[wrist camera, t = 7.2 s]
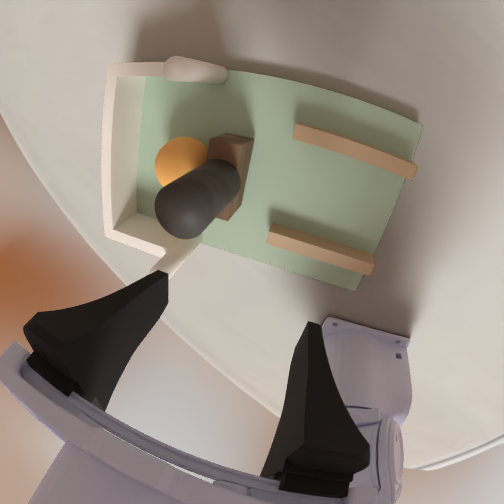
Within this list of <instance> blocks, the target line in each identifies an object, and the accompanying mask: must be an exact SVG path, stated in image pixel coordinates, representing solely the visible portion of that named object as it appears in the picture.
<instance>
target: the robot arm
mask: <svg viewBox="0 0 504 504" xmlns="http://www.w3.org/2000/svg"><path fill="white" fill-rule="evenodd" d="M167 304H168V273H166V272H163V271H160V270H157V271H155V272H153V273H151V274H149V275H147V276H145V277H144V278H142V279H140V280H138V281H136V282H134V283H132V284H130V285H129V286H127V287H125V288H123V289H121V290H119V291H116V292H114V293H112V294H110V295H108V296H105V297H103V298H100V299H98V300H95V301H92V302H89V303H86V304H82V305H79V306H75V307H71V308H66V309H61V310H54V311H45V312H38V313H36V314H35V315H34V316H33V317H32V319H30V320H29V321H28V323H26V324H25V325H24V327H23V331H24V334H25V336H26V338H27V340H28V342H29V343H30V345H31V347H32V349H33V350H34V352H33V353H32V354H30V353H29V352H28V351H27V350H26V349H25V348H24V347H23V346H22V345H21V344H20V343H19V342H18V341H16V340H15V341H14V342H13V343H12V344H11V345H10V346H9V347H8V349H7V350H6V351H5V352H4V353H3V354H2V355H1V356H0V382H1V383H2V384H3V386H4V387H5V388H6V389H7V390H8V391H9V392H10V393H11V395H12V396H13V397H15V399H16V400H18V402H19V403H20V404H22V405H23V406H24V407H25V408H26V409H27V410H28V411H29V412H30V413H31V414H32V415H33V416H34V417H35V418H37V419H38V420H39V421H40V422H41V423H42V424H43V425H45V426H46V427H47V428H48V429H49V430H51V431H52V432H53V433H54V434H55V435H57V436H58V437H59V438H60V439H62V440H63V441H64V442H66V443H65V444H64V446H63V447H62V449H61V450H60V452H59V453H58V455H57V457H56V458H55V460H54V462H53V463H52V465H51V466H50V468H49V469H48V471H47V473H46V474H45V476H44V478H43V479H42V481H41V483H40V484H39V486H38V488H37V489H36V491H35V493H34V495H33V496H32V498H31V500H30V501H29V503H28V504H395V503H396V501H397V500H398V498H399V496H400V492H401V487H402V473H403V462H404V453H403V439H402V433H401V429H400V426H401V425H402V424H403V422H404V421H405V419H406V417H407V415H408V413H409V410H410V406H411V401H412V385H411V377H410V369H409V362H408V355H407V349H406V348H407V347H408V346H409V345H410V339H409V338H406V337H402V336H398V335H394V334H390V333H387V332H383V331H379V330H376V329H372V328H368V327H365V326H361V325H358V324H354V323H351V322H347V321H344V320H340V319H337V318H333V317H328V318H326V319H325V321H324V323H323V325H322V327H321V325H319V324H316V323H313V322H309V321H308V323H307V325H306V327H305V329H304V331H303V333H302V335H301V337H300V339H299V341H298V343H297V345H296V347H295V350H294V354H293V358H292V361H291V365H290V371H289V377H288V384H287V390H286V396H285V401H284V406H283V411H282V414H281V418H280V421H279V424H278V428H277V431H276V434H275V437H274V440H273V443H272V446H271V448H270V451H269V454H268V457H267V459H266V462H265V464H264V467H263V469H262V472H261V475H260V476H255V475H252V474H248V473H244V472H241V471H237V470H234V469H230V468H227V467H224V466H221V465H218V464H215V463H212V462H210V461H207V460H204V459H201V458H199V457H196V456H193V455H191V454H188V453H186V452H183V451H181V450H178V449H176V448H174V447H171V446H169V445H167V444H165V443H162V442H160V441H158V440H156V439H154V438H152V437H150V436H148V435H146V434H144V433H142V432H140V431H138V430H136V429H134V428H132V427H130V426H128V425H127V424H125V423H123V422H121V421H119V420H118V419H116V418H114V417H112V416H111V415H109V414H107V413H106V412H105V410H106V407H107V405H108V403H109V400H110V398H111V395H112V393H113V391H114V389H115V387H116V384H117V383H118V380H119V378H120V377H121V375H122V373H123V371H124V369H125V367H126V365H127V363H128V362H129V360H130V358H131V356H132V355H133V353H134V352H135V350H136V349H137V347H138V346H139V345H140V343H141V342H142V341H143V339H144V338H145V337H146V335H147V334H148V333H149V331H150V330H151V329H152V327H153V326H154V325H155V323H156V322H157V321H158V319H159V318H160V316H161V315H162V313H163V311H164V309H165V308H166V306H167ZM334 323H337V324H334ZM397 340H398V341H397ZM100 426H101V427H100ZM103 428H104V429H105V430H107V431H109V432H111V433H112V434H114V435H116V436H117V437H116V436H114V435H112V434H111V433H109V432H107V431H105V430H104V429H103ZM118 437H119V438H121V439H123V440H125V441H126V442H124V441H122V440H121V439H119V438H118ZM127 442H128V443H130V444H132V445H134V446H136V447H138V448H140V449H141V450H140V449H138V448H136V447H134V446H132V445H130V444H128V443H127ZM142 450H143V451H142ZM144 451H145V452H144ZM146 452H148V453H150V454H152V455H154V456H156V457H158V458H160V459H162V460H165V461H167V462H169V463H172V464H174V465H176V466H179V467H181V468H184V469H186V470H189V471H191V472H194V473H196V474H199V475H202V476H205V477H208V478H211V479H214V480H217V481H214V482H213V484H212V483H209V482H206V481H204V480H202V479H199V478H197V477H195V476H192V475H190V474H188V473H185V472H183V471H181V470H179V469H177V468H175V467H173V466H171V465H170V464H168V463H166V462H164V461H162V460H160V459H158V458H156V457H154V456H152V455H150V454H147V453H146Z"/></svg>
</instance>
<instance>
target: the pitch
mask: <svg viewBox="0 0 504 504" xmlns="http://www.w3.org/2000/svg"><path fill="white" fill-rule="evenodd" d="M422 128H423V125H421V124H419V123H417V122H414V121H412V120H410V119H408V118H405V117H403V116H401V115H398V114H396V113H393V112H391V111H388V110H386V109H383V108H381V107H378V106H376V105H373V104H370V103H367V102H365V101H362V100H359V99H356V98H353V97H350V96H347V95H344V94H340V93H337V92H334V91H330V90H327V89H323V88H320V87H316V86H312V85H308V84H304V83H300V82H296V81H292V80H287V79H282V78H278V77H272V76H267V75H262V74H256V73H250V72H243V71H236V70H228V69H226V68H225V67H223V66H219V65H216V64H212V63H208V62H204V61H200V60H195V59H191V58H186V57H182V56H172V57H170V58H168V59H167V60H166V61H165V62H130V63H113V64H108V71H107V79H106V88H105V97H104V109H103V124H102V156H101V170H102V202H103V218H104V230H105V237H107V238H110V239H113V240H115V241H118V242H120V243H123V244H126V245H128V246H131V247H134V248H136V249H139V250H142V251H145V252H147V253H150V254H153V255H155V256H158V257H161V259H160V260H159V261H158V262H157V263H156V264H155V265H154V266H153V267H152V269H151V270H150V274H151V273H153V272H155V271H157V270H160V271H163V272H166V273H168V280H169V279H170V278H171V277H172V275H173V274H174V273H175V272H176V271H177V269H178V268H179V267H180V266H181V265H182V263H183V262H184V261H185V260H186V259H187V257H188V256H189V255H190V254H191V253H192V252H193V250H194V249H195V248H196V247H197V246H198V245H199V243H203V244H206V245H209V246H212V247H215V248H218V249H221V250H224V251H228V252H231V253H234V254H237V255H240V256H243V257H246V258H250V259H253V260H256V261H259V262H262V263H265V264H268V265H272V266H275V267H278V268H281V269H284V270H287V271H291V272H294V273H297V274H300V275H303V276H307V277H310V278H313V279H316V280H319V281H322V282H326V283H329V284H332V285H335V286H339V287H342V288H345V289H348V290H351V291H355V290H356V289H357V287H358V285H359V283H360V281H361V279H362V277H363V275H367V276H370V275H371V273H372V271H373V269H374V267H375V261H374V256H373V254H374V252H375V250H376V248H377V246H378V244H379V241H380V239H381V237H382V235H383V232H384V230H385V228H386V226H387V223H388V221H389V219H390V216H391V214H392V211H393V209H394V207H395V204H396V202H397V199H398V197H399V194H400V192H401V189H402V186H403V184H404V181H405V178H407V179H409V180H412V181H413V178H414V175H415V173H416V170H417V166H416V165H415V164H414V163H413V162H412V159H413V156H414V153H415V150H416V147H417V144H418V141H419V137H420V134H421V131H422ZM224 133H231V134H235V135H240V136H245V137H249V138H253V139H255V140H254V145H253V150H252V155H251V160H250V165H249V170H248V175H247V180H246V185H245V190H244V195H243V200H242V205H241V206H240V207H239V208H238V210H237V211H236V212H235V213H234V215H233V216H232V217H231V218H230V219H229V221H225V220H221V219H218V218H215V219H214V220H213V221H212V222H211V223H210V225H209V226H208V227H207V228H206V229H205V230H204V231H203V232H202V233H201V234H200V235H199V236H197V237H195V238H193V239H180V238H177V237H174V236H172V235H171V234H169V233H168V232H167V231H166V230H165V229H164V228H163V227H162V226H161V225H160V223H159V221H158V219H157V217H156V214H155V207H154V204H155V198H156V196H157V194H158V192H159V191H160V190H161V189H162V188H163V186H162V185H161V184H160V183H159V181H158V179H157V177H156V174H155V159H156V156H157V154H158V152H159V150H160V149H161V148H162V147H163V146H164V145H165V144H166V143H167V142H169V141H170V140H172V139H175V138H178V137H191V138H195V139H197V140H199V141H200V142H202V143H203V144H204V145H205V146H206V147H207V148H208V146H209V139H210V138H213V137H216V136H219V135H222V134H224Z"/></svg>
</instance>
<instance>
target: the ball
mask: <svg viewBox="0 0 504 504" xmlns="http://www.w3.org/2000/svg"><path fill="white" fill-rule="evenodd" d="M207 152H208V148H207V147H206V146H205V145H204V144H203V143H202V142H200V141H199V140H197V139H195V138H191V137H178V138H175V139H172V140H170V141H169V142H167V143H166V144H165V145H164V146H163V147H162V148H161V149H160V150H159V152H158V154H157V156H156V159H155V174H156V177H157V179H158V181H159V183H160V184H161V185H162V186H163V187H164V186H166V185H167V184H169V183H171V182H172V181H174V180H176V179H178V178H179V177H181V176H183V175H184V174H186V173H188V172H190V171H191V170H193V169H195V168H197V167H199V166H200V165H202V164H204V163H206V159H207Z"/></svg>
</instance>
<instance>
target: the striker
mask: <svg viewBox="0 0 504 504" xmlns="http://www.w3.org/2000/svg"><path fill="white" fill-rule="evenodd" d="M254 140H255V139H253V138H249V137H245V136H240V135H235V134H231V133H224V134H222V135H219V136H216V137H213V138H210V139H209V146H208V152H207V159H206V163H204V164H202V165H200V166H199V167H197V168H195V169H193V170H191V171H190V172H188V173H186V174H184V175H183V176H181V177H179V178H178V179H176V180H174V181H172V182H171V183H169V184H167V185H166V186H164V187H163V188H162V189H161V190H160V191H159V192H158V194H157V196H156V198H155V204H154V207H155V214H156V217H157V219H158V221H159V223H160V225H161V226H162V227H163V228H164V229H165V230H166V231H167V232H168V233H169V234H171V235H172V236H174V237H177V238H180V239H193V238H195V237H197V236H199V235H200V234H201V233H202V232H203V231H204V230H205V229H206V228H207V227H208V226H209V225H210V223H211V222H212V221H213V220H214V219H215V218H218V219H221V220H225V221H229V219H230V218H231V217H232V216H233V215H234V213H235V212H236V211H237V210H238V208H239V207H240V206H241V205H242V200H243V195H244V190H245V185H246V180H247V175H248V170H249V165H250V160H251V155H252V150H253V145H254Z"/></svg>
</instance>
